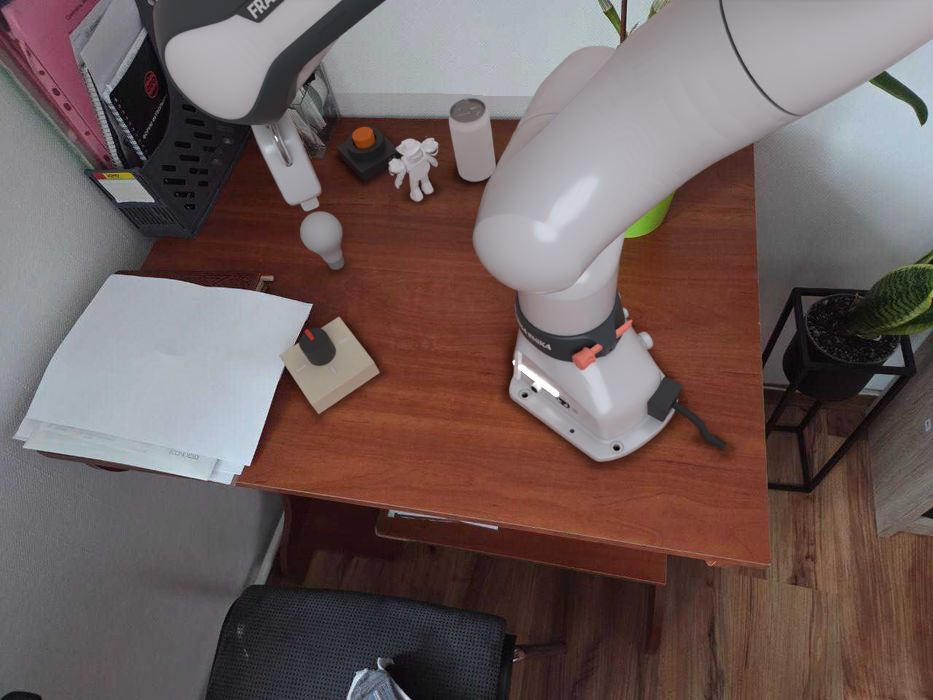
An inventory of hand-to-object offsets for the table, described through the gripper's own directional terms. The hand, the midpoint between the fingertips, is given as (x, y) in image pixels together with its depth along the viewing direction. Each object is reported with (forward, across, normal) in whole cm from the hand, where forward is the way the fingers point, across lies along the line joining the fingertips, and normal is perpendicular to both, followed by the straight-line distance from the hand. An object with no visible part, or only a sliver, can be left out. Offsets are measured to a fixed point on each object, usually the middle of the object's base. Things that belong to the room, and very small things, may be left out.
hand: (300, 178), depth 68 cm
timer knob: (+24, -5, +7) cm, 26 cm away
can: (+27, +20, -27) cm, 43 cm away
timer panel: (+27, -6, +7) cm, 29 cm away
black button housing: (+28, +33, -12) cm, 44 cm away
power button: (+24, +33, -12) cm, 42 cm away
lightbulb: (+28, +11, +1) cm, 30 cm away
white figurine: (+28, +19, -17) cm, 38 cm away
